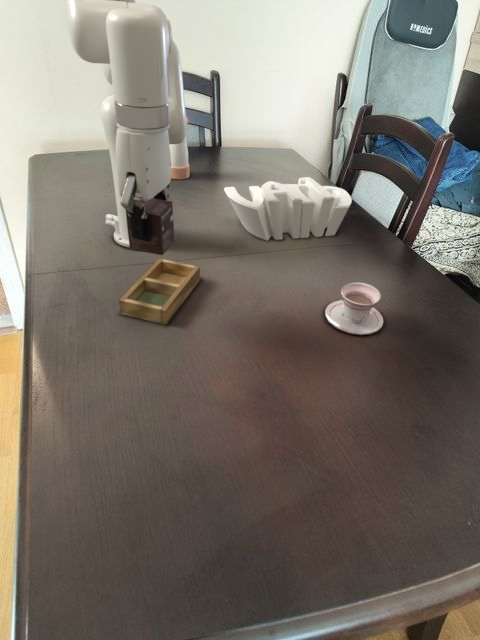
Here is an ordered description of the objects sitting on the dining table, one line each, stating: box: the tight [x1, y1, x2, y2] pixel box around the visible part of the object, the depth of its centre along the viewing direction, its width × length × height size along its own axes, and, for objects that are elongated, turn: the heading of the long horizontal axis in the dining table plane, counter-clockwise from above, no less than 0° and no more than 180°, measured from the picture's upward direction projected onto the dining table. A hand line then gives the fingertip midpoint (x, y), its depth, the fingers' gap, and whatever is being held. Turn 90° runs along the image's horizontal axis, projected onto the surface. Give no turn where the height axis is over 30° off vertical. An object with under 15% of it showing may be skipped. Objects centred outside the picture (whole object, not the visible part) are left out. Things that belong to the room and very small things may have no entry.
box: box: [126, 198, 175, 256], centre depth 77 cm, size 6×6×7 cm
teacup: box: [324, 281, 384, 336], centre depth 92 cm, size 12×12×6 cm
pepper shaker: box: [170, 116, 191, 180], centre depth 143 cm, size 7×7×19 cm
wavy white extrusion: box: [223, 176, 353, 242], centre depth 123 cm, size 35×16×11 cm, turn 105°
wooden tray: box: [118, 257, 201, 325], centre depth 94 cm, size 9×18×3 cm, turn 165°
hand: (151, 229), depth 78 cm, fingers closed on box, 6 cm apart
